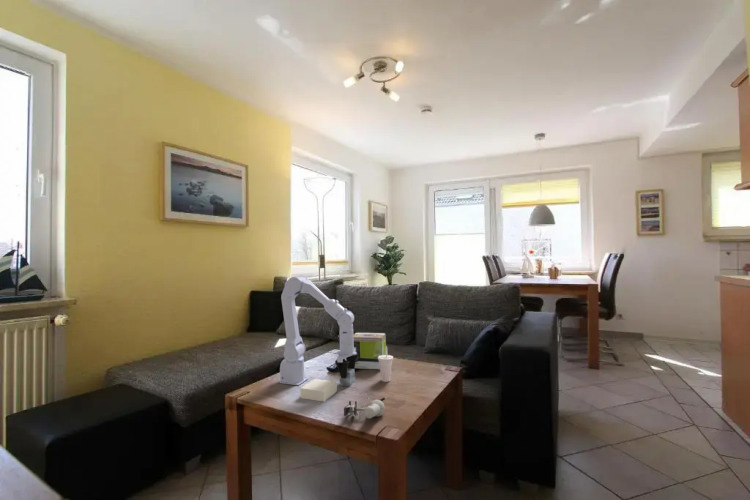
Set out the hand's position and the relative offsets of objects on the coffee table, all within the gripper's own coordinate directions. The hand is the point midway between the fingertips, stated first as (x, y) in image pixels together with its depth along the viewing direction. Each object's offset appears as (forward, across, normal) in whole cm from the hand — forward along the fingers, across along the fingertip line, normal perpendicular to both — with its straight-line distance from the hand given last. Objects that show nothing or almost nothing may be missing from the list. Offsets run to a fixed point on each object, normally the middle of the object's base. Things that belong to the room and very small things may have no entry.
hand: (347, 374), depth 143 cm
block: (+4, 0, 0) cm, 4 cm away
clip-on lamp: (+4, -22, -17) cm, 28 cm away
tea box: (+4, +23, -1) cm, 23 cm away
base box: (+4, -13, +6) cm, 15 cm away
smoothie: (+4, +8, -14) cm, 17 cm away
